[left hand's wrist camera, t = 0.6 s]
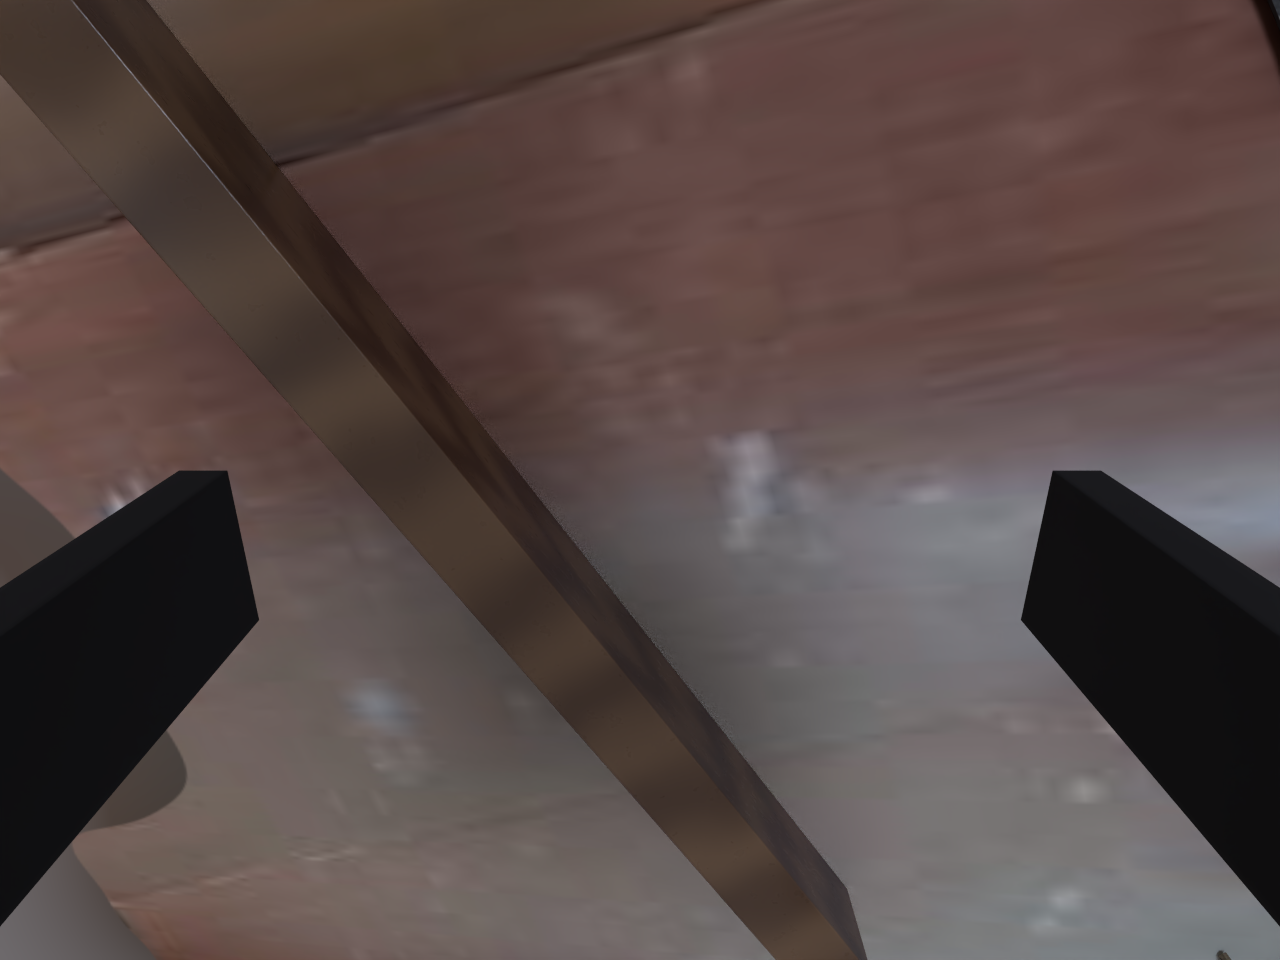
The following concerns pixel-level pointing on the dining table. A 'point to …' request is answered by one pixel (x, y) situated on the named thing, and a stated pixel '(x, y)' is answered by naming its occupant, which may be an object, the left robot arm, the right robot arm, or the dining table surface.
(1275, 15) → the sword
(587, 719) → the post
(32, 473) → the dining table surface
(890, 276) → the dining table surface
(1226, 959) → the miniature windmill
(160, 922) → the dining table surface
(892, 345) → the dining table surface
